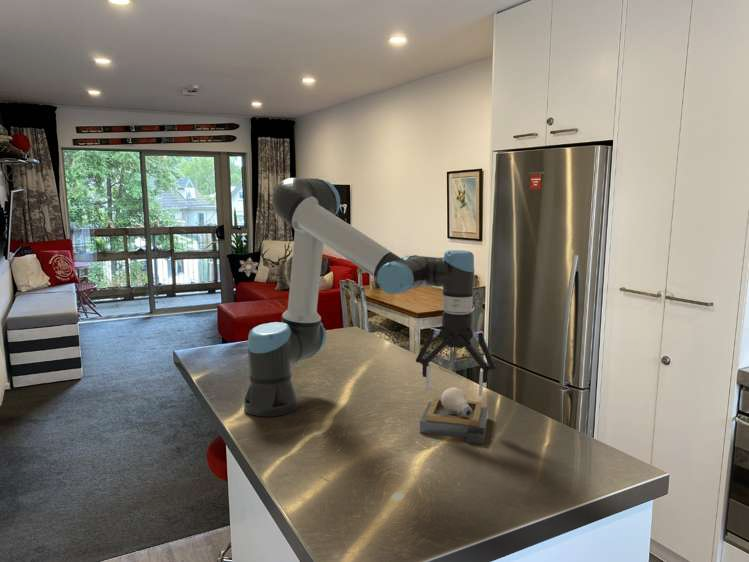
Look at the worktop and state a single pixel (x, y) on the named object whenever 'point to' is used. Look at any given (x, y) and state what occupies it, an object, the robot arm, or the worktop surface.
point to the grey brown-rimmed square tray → (455, 421)
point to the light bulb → (456, 402)
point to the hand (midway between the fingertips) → (454, 391)
